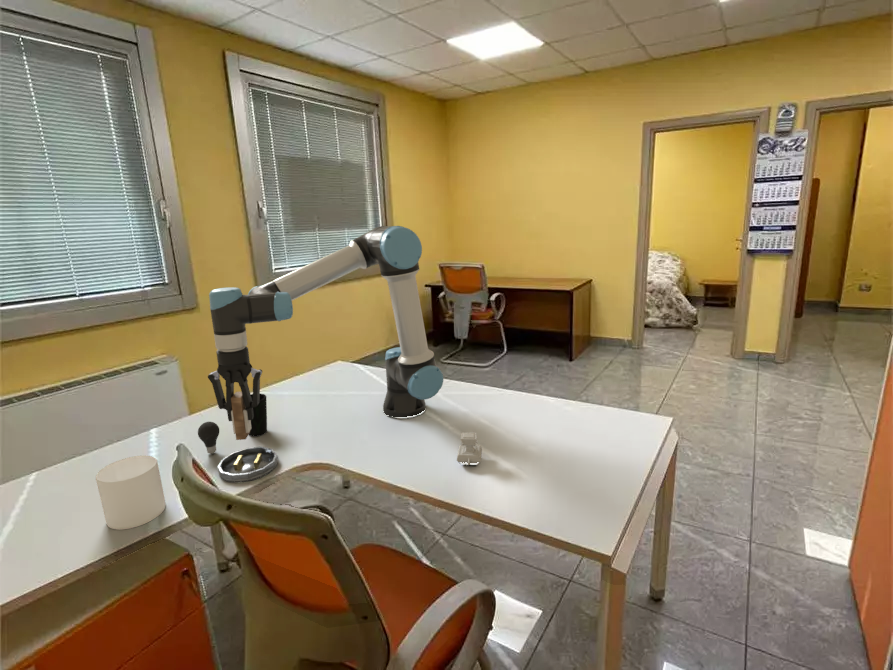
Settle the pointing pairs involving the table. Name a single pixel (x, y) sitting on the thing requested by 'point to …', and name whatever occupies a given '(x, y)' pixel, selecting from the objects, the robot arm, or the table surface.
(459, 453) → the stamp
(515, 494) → the table surface
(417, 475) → the table surface
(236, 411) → the tapered wood plank
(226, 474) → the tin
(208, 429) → the light bulb
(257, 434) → the cup
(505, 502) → the table surface
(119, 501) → the cup
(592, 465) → the table surface
